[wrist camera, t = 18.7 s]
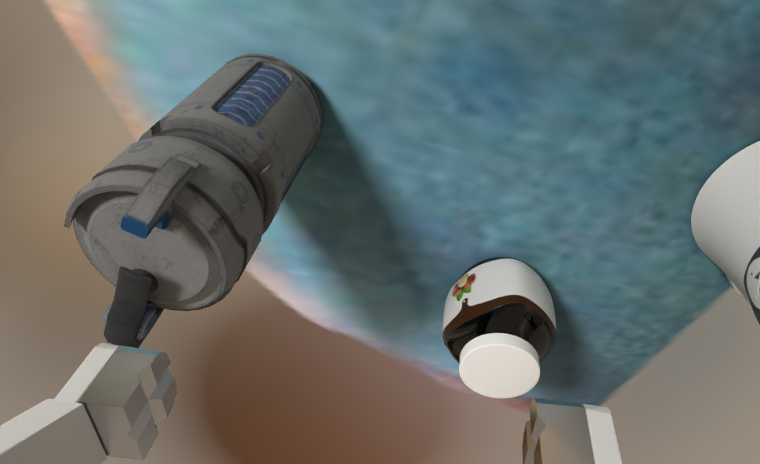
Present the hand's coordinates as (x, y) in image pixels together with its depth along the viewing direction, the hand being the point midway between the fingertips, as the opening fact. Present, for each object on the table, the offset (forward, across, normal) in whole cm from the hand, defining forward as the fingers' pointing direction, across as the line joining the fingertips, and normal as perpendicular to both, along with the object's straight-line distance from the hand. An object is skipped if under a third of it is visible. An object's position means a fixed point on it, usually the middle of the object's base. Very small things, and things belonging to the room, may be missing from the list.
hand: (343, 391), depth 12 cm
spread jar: (+37, -8, +29) cm, 48 cm away
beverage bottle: (+38, +15, +10) cm, 42 cm away
